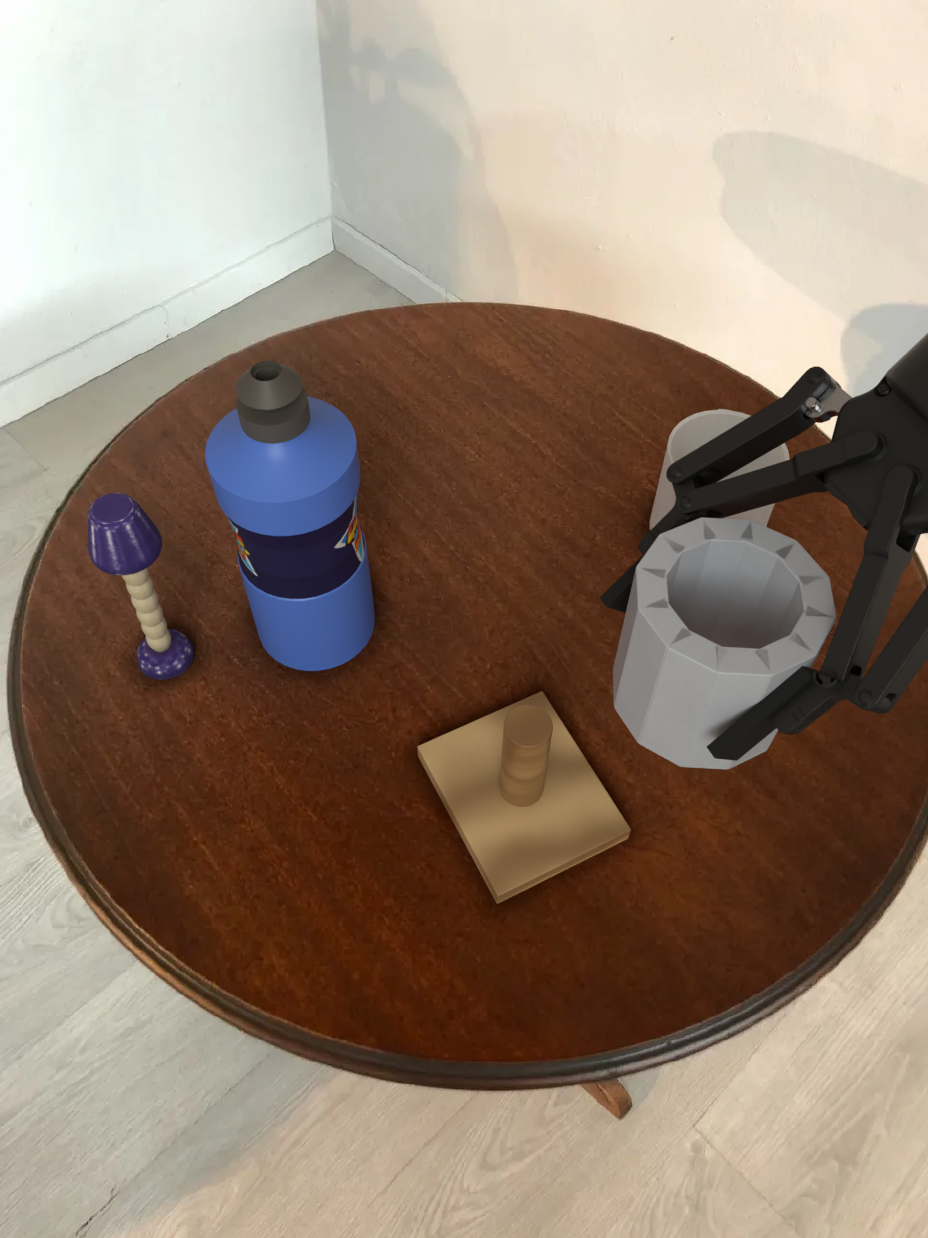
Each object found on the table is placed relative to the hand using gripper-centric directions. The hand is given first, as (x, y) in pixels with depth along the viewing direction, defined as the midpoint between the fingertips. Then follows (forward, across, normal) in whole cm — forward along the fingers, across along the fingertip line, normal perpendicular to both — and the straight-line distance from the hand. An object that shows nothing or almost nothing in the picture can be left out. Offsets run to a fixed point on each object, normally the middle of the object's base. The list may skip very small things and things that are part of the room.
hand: (665, 676), depth 56 cm
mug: (-2, +19, -26) cm, 32 cm away
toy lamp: (+29, +26, +5) cm, 39 cm away
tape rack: (+16, +4, -7) cm, 18 cm away
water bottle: (+21, +24, -2) cm, 32 cm away
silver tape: (+1, 0, -5) cm, 5 cm away
